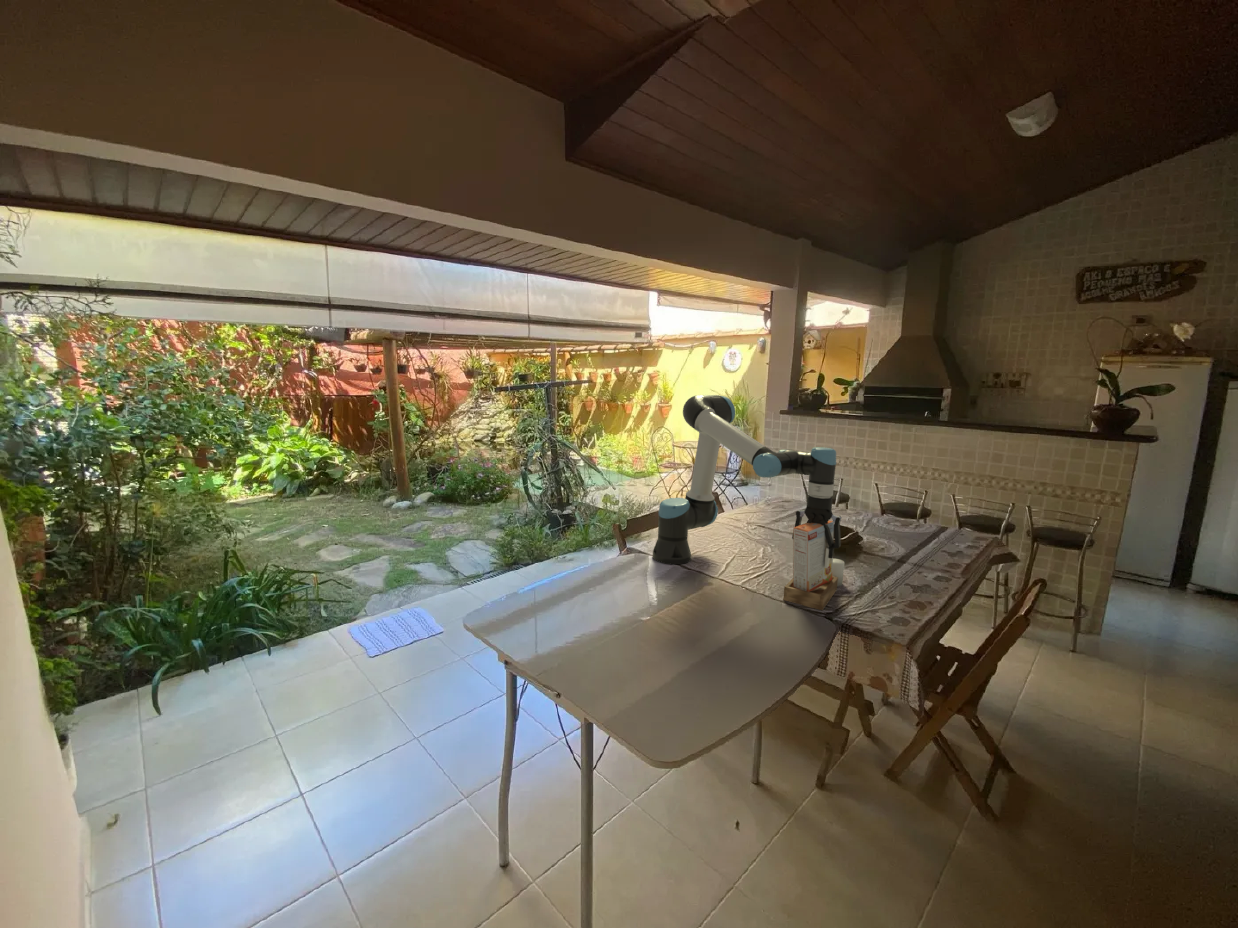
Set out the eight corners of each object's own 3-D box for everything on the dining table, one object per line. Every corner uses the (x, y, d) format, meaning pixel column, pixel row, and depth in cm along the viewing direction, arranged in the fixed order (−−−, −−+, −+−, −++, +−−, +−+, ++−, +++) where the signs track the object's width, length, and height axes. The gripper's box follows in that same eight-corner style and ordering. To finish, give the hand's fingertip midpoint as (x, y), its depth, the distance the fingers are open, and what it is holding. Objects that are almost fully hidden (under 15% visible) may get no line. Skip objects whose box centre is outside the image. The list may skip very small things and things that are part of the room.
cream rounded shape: (822, 583, 171) (824, 561, 170) (826, 578, 176) (828, 557, 175) (840, 587, 168) (842, 565, 166) (843, 582, 172) (846, 560, 171)
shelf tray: (783, 599, 156) (784, 586, 156) (800, 581, 172) (801, 569, 172) (822, 610, 149) (823, 596, 149) (836, 589, 165) (838, 577, 165)
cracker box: (816, 574, 166) (818, 516, 162) (832, 580, 162) (835, 521, 157) (791, 587, 159) (792, 526, 154) (807, 593, 154) (809, 531, 150)
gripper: (784, 493, 158) (779, 560, 162) (851, 502, 147) (844, 574, 150) (791, 489, 164) (786, 554, 168) (856, 498, 153) (849, 568, 156)
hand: (813, 564), depth 159 cm, fingers closed on cracker box, 7 cm apart
